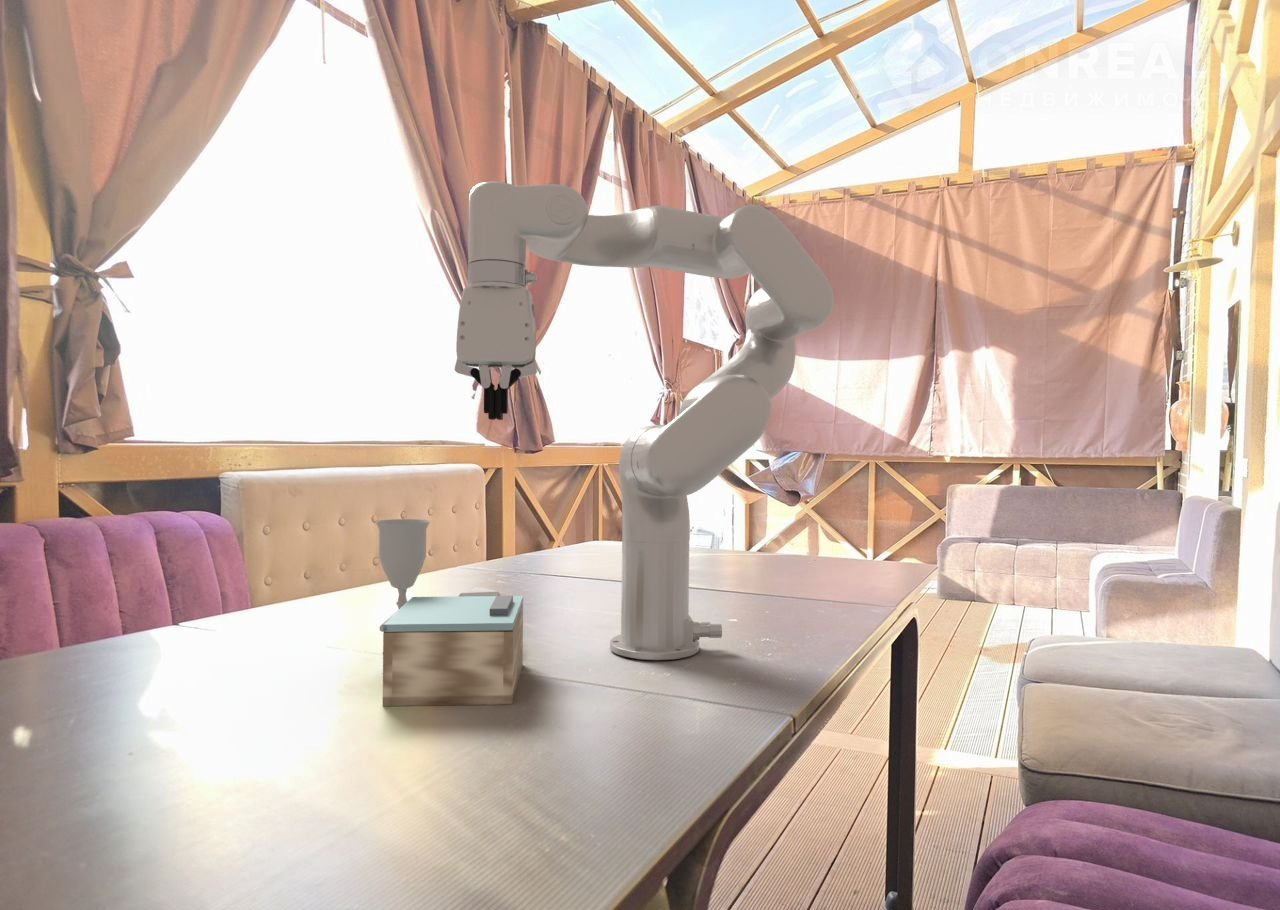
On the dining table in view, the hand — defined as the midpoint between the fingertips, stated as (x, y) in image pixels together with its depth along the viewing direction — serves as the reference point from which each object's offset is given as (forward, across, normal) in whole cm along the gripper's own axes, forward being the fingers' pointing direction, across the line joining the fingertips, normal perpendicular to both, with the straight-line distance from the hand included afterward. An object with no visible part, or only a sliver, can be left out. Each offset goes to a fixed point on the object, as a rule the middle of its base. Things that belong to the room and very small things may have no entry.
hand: (495, 419), depth 104 cm
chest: (+32, +3, +10) cm, 34 cm away
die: (+32, +3, -8) cm, 33 cm away
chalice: (+32, +13, -5) cm, 35 cm away
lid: (+24, +3, +10) cm, 26 cm away
